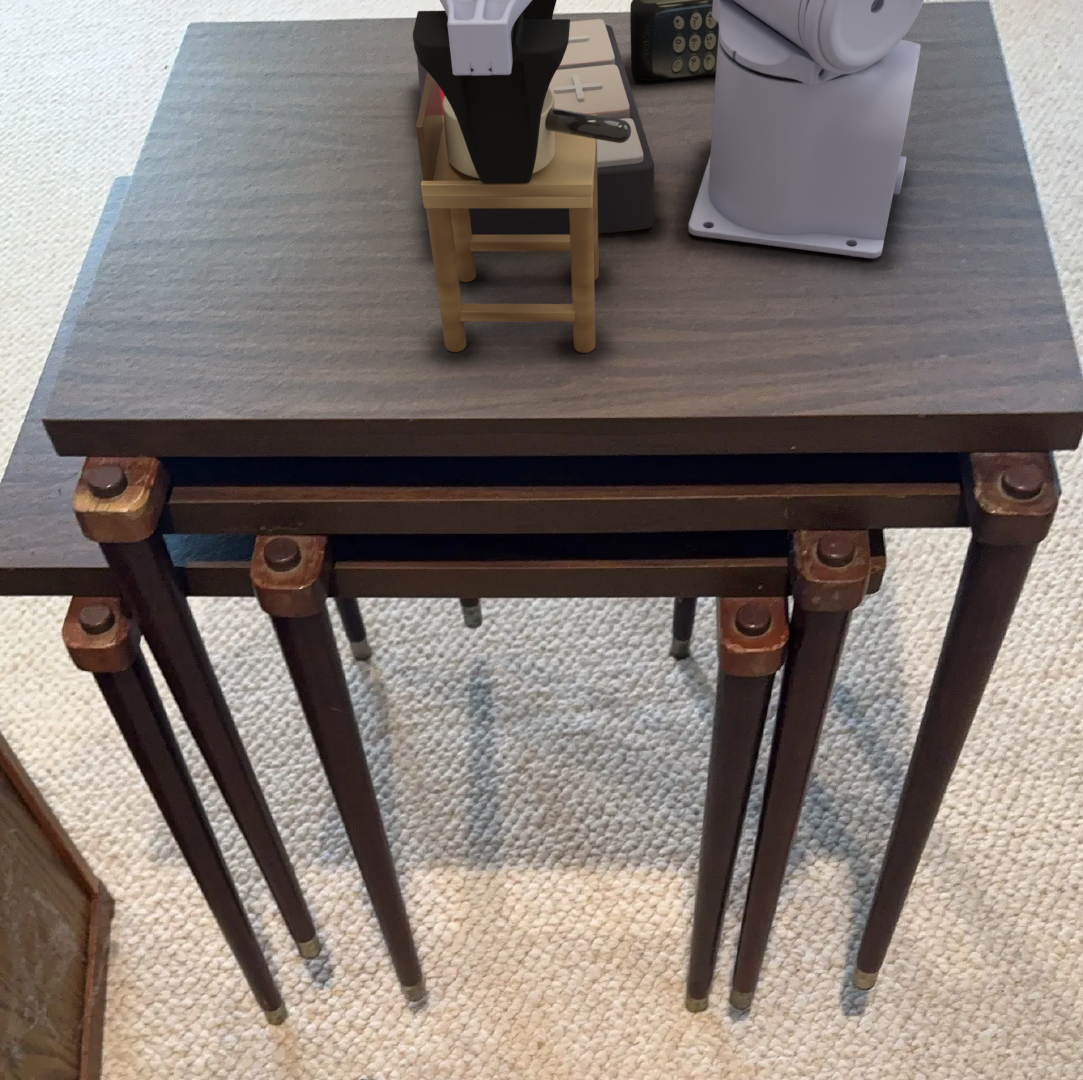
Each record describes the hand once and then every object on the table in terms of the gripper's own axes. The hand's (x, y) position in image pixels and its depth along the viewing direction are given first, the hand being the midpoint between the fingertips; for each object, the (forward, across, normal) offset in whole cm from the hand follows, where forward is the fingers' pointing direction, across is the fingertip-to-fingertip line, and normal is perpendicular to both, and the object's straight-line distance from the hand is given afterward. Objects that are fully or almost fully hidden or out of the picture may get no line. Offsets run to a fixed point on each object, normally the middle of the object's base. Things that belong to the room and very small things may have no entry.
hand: (510, 139), depth 54 cm
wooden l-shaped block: (+1, 0, 0) cm, 1 cm away
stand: (+9, 0, 0) cm, 9 cm away
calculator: (+10, -12, 0) cm, 16 cm away
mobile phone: (+10, -21, +12) cm, 26 cm away
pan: (0, +1, +1) cm, 1 cm away
